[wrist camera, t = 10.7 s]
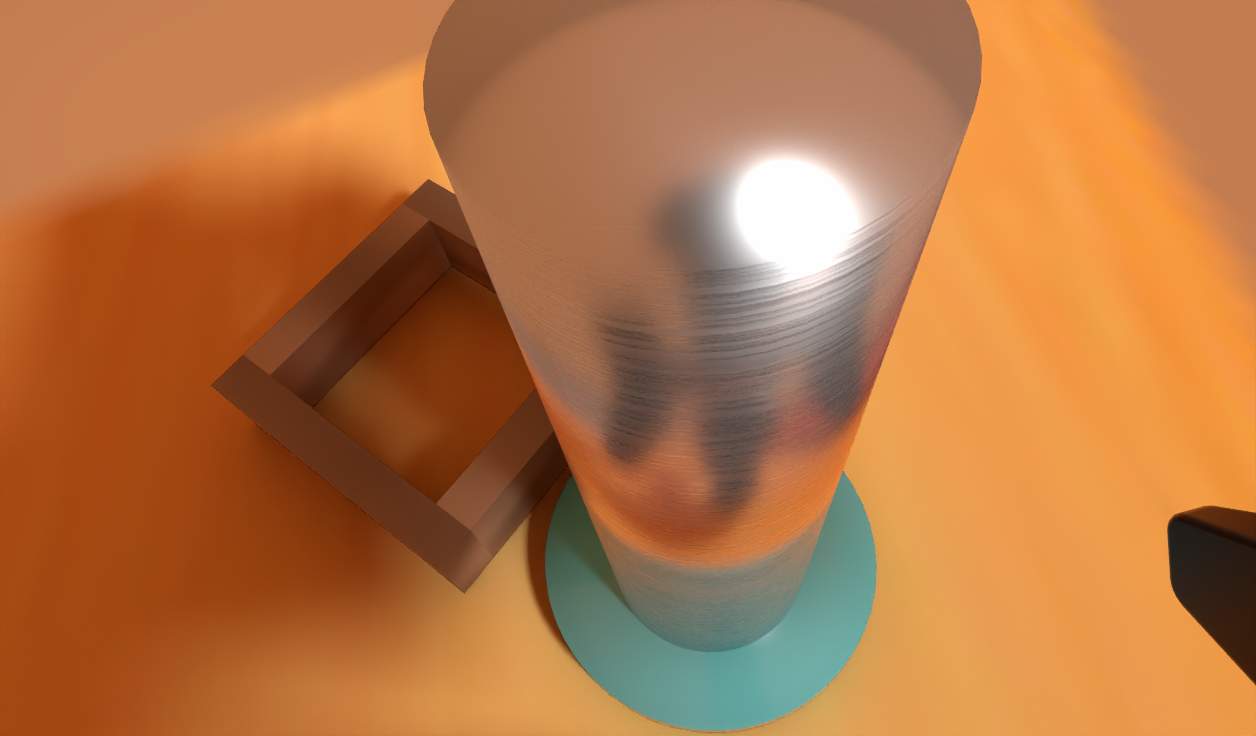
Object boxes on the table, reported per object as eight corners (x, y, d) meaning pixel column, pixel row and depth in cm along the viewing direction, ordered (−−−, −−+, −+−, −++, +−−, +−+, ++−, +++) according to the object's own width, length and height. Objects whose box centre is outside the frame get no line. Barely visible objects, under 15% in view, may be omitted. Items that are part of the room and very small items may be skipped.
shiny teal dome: (756, 813, 15) (757, 812, 15) (487, 596, 18) (478, 588, 17) (928, 524, 18) (936, 512, 17) (670, 368, 20) (668, 352, 20)
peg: (709, 696, 16) (694, 391, 5) (576, 552, 17) (321, 64, 6) (844, 555, 17) (1101, 23, 6) (706, 432, 19) (691, -170, 7)
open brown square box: (464, 593, 18) (437, 569, 16) (253, 421, 21) (211, 385, 19) (660, 351, 21) (654, 309, 19) (449, 226, 23) (428, 179, 22)
